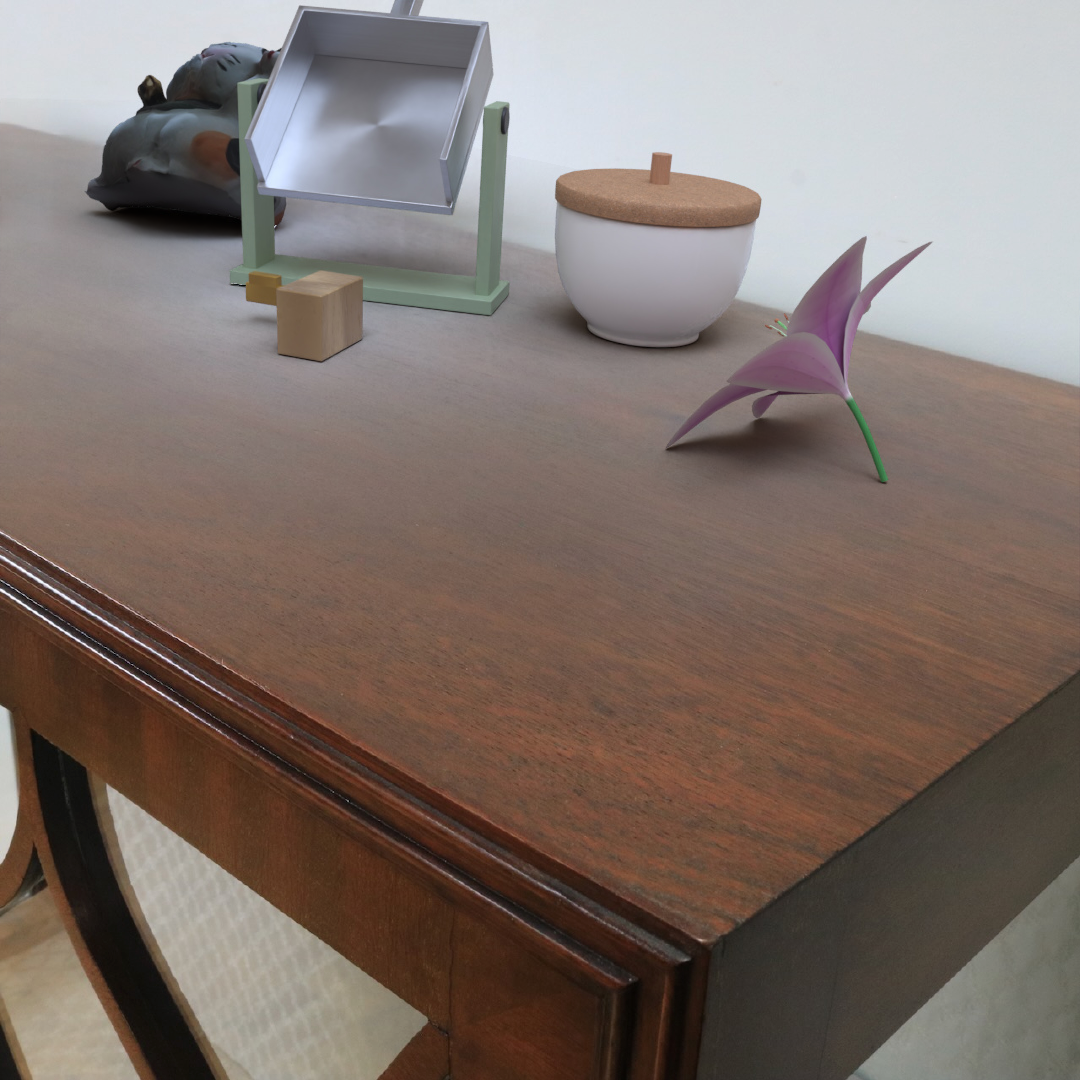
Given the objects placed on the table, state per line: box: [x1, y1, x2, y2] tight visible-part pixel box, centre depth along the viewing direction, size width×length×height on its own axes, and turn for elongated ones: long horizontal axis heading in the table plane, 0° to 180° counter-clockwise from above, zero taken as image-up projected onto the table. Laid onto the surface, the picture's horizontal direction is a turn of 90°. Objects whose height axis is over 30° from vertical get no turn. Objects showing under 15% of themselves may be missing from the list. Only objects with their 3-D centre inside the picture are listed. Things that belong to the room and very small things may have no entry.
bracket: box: [229, 78, 511, 316], centre depth 69 cm, size 5×15×11 cm, turn 80°
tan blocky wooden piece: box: [245, 270, 364, 362], centre depth 61 cm, size 6×3×5 cm
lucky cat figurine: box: [84, 41, 287, 226], centre depth 83 cm, size 15×12×14 cm
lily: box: [664, 235, 933, 483], centre depth 50 cm, size 12×12×10 cm
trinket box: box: [554, 151, 762, 348], centre depth 65 cm, size 11×11×9 cm
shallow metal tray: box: [244, 0, 494, 216], centre depth 69 cm, size 19×11×4 cm
